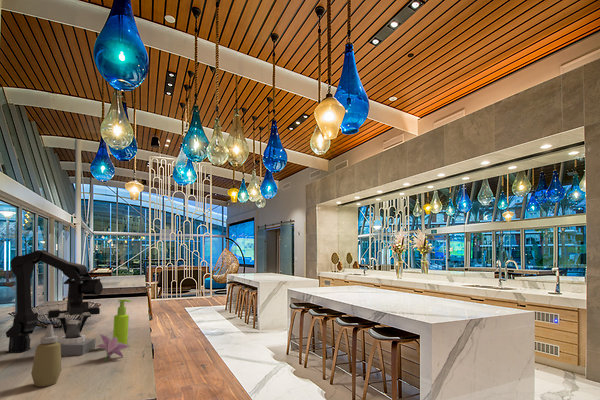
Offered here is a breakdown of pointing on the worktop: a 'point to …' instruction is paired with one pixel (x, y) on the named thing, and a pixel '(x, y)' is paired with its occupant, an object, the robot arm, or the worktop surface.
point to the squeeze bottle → (47, 360)
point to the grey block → (72, 329)
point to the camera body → (76, 345)
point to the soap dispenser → (121, 323)
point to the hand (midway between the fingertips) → (72, 333)
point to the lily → (112, 346)
